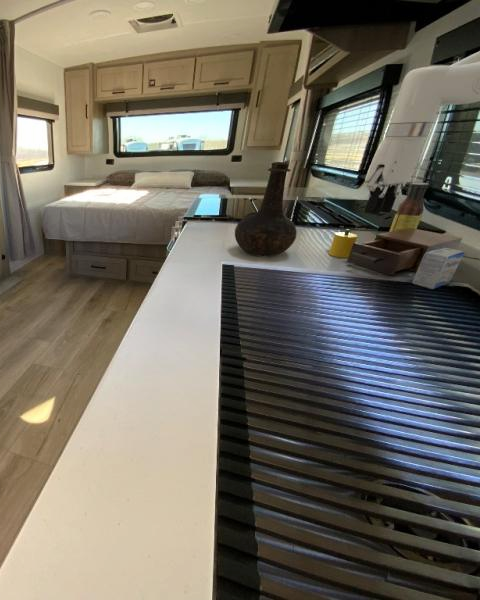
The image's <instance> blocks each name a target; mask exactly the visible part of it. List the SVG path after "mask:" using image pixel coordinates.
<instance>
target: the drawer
mask: <svg viewBox="0 0 480 600" xmlns="http://www.w3.org/2000/svg"><path fill="white" fill-rule="evenodd" d="M423 249H424V248H422V247H417V246H413V245H409V244H404V243H400V242H395V241H391V240H387V239H379V240H375V239H374V240H370V241H364V242H361V243H360V242H355V243H353V246H352V249H351V252H350V255H349V257H348V258H347V261H346V262H347V263H349V264H353V265H355V266H356V265H357V266H359V267H363V268H366V269H369V270H373V271H376V272H379V273H382V274H386V275H389V276H394V275H395V272H398V271H402V270H407V269H406V268H410V267H414V266H416V264H417V262H418V260H419V258H420V256H421V253H422V251H423Z"/></svg>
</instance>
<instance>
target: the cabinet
mask: <svg viewBox="0 0 480 600" xmlns="http://www.w3.org/2000/svg"><path fill="white" fill-rule="evenodd" d="M379 239H387V240H391V241H395V242H400V243H404V244H409V245H413V246H417V247H422V248H424V249H423V251H422V253H421V256H420V258H419V260H418V262H417V264H416V266H414V267H410V268H406V269H405V270H407V271H411V272H414V273H416V272H417V270H418V268H419V266H420V263H421V261H422V259H423V257H424V254H425V253H426V252H430V251H433V250H437V249H440V248H449V249H455V250H458V248H459V246H460V244H461V242H462V240H463V237H460V236H455V235H449V234H444V233H440V232H439V233H438V232H434V231H429V230H422V229H418V228H417V229H413V228H406V229H401V230H396V231H391V232H389V231H387V232H382V233H376V234H375V237H374V240H379Z"/></svg>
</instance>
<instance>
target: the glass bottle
mask: <svg viewBox="0 0 480 600" xmlns="http://www.w3.org/2000/svg"><path fill="white" fill-rule="evenodd" d="M270 164H271V167H269V168H268V169H267V171H269V177H268V180H267V185H266V188H265V191H264V195H263V198H262V201H261V203H260V206H259V209H258V211H257V212H256V211H253V212H250V213H248V214H246V215H245V216H244V217H243V218H242V219H241V220H240V221H239V222H238V223H237V224H236V226H235V228H234V237H235V241H236V243H237V245H238V247H240V249H241V250H242V251H244V252H245V253H246V254H248V255H252V256H256V257H273V256H277V255H280V254H283V253H284V252H286V251H287V250H288V249H290V248H291V246H292V245H293V244H294V243H295V241H296V239H297V234H298V232H297V227H296V225H295V223H294V222H293V221H292V220H291V219H290V218H288V217H287V216H285V213H284V195H285V186H286V181H287V180H286V179H287V173H289V172H291V171H292V170H291V169H290V168H289V165H290V164H289V163H288V162H283V161H274V162H271V163H270Z"/></svg>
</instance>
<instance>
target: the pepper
mask: <svg viewBox="0 0 480 600" xmlns="http://www.w3.org/2000/svg"><path fill="white" fill-rule="evenodd" d="M357 239H358V234H356V233H352V232H351V230H350V228H347V229H345V231H341V232H340V231H339V232H335V233H334V235H333V239H332V242H331V246H330V249H329V251H328V254H329V255H330V256H332V257H334V258H341V259H343V258H344V259H348V257H349V255H350V252H351V249H352V246H353V243H356V241H357Z"/></svg>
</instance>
